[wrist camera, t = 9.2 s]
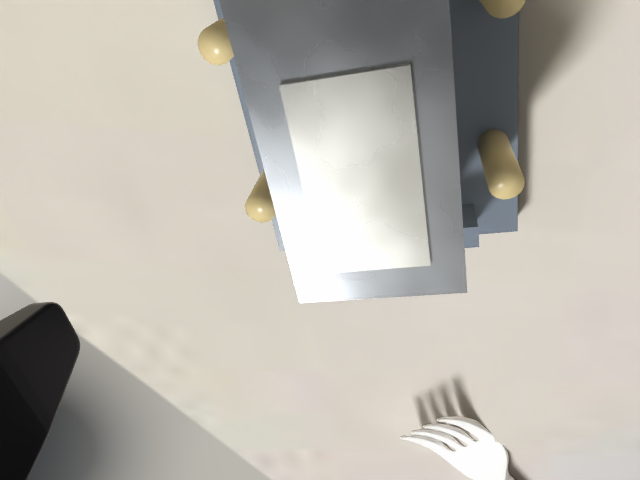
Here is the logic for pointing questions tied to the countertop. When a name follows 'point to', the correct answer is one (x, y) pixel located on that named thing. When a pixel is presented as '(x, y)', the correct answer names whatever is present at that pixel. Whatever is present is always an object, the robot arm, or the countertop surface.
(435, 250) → the block
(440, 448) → the fork
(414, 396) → the countertop surface
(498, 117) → the tray
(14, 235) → the countertop surface
